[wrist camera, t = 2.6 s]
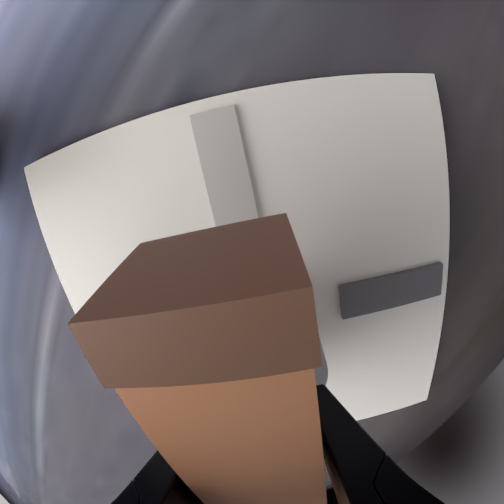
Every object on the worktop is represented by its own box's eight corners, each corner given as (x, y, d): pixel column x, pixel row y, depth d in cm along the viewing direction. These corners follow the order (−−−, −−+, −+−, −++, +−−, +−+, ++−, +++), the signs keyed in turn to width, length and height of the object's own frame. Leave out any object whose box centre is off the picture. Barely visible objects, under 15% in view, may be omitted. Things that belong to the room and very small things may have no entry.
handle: (319, 455, 11) (331, 536, 7) (245, 464, 11) (243, 545, 7) (282, 203, 7) (312, 286, 3) (152, 230, 7) (67, 323, 4)
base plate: (421, 389, 17) (449, 446, 12) (155, 430, 18) (139, 488, 13) (422, 76, 10) (495, 60, 6) (36, 164, 12) (-38, 185, 7)
